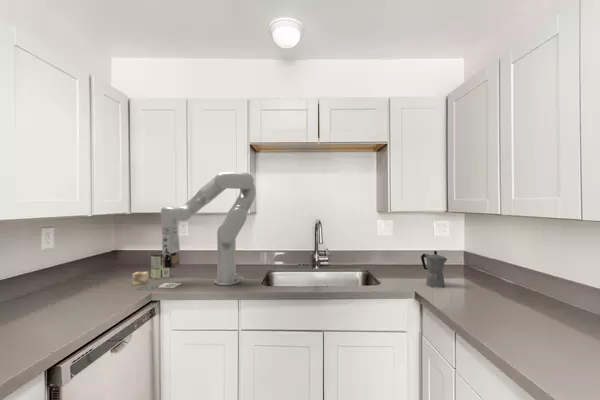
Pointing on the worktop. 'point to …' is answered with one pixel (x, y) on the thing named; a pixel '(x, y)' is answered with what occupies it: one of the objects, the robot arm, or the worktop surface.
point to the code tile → (169, 285)
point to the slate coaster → (147, 287)
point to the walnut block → (172, 261)
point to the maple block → (140, 278)
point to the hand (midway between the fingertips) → (171, 265)
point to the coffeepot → (434, 269)
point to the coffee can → (158, 267)
